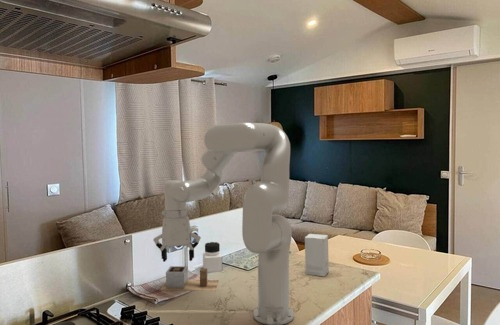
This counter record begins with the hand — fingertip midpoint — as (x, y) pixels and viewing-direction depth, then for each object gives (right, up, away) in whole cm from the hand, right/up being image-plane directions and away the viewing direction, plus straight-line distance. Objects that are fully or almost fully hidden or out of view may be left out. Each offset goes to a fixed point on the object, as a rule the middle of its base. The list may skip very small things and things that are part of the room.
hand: (178, 260), depth 140 cm
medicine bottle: (+11, -10, +19) cm, 24 cm away
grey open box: (0, -10, +1) cm, 10 cm away
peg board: (+4, -11, +1) cm, 11 cm away
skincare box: (+54, -10, +16) cm, 57 cm away
